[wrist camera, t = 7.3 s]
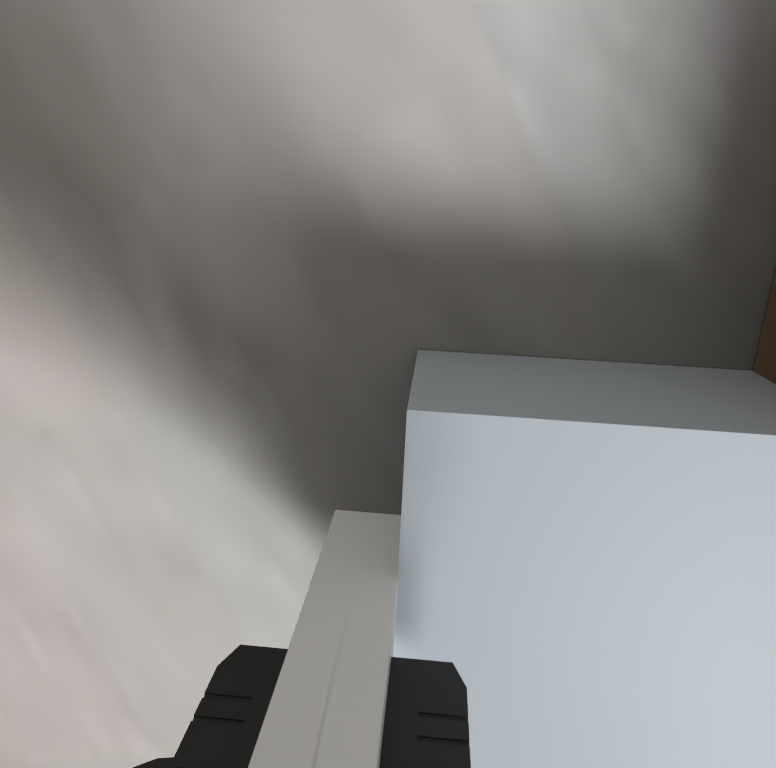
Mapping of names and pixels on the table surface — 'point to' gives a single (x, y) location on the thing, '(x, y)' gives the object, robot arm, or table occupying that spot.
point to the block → (594, 558)
